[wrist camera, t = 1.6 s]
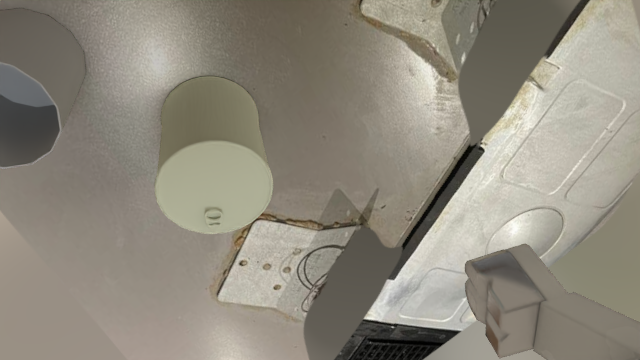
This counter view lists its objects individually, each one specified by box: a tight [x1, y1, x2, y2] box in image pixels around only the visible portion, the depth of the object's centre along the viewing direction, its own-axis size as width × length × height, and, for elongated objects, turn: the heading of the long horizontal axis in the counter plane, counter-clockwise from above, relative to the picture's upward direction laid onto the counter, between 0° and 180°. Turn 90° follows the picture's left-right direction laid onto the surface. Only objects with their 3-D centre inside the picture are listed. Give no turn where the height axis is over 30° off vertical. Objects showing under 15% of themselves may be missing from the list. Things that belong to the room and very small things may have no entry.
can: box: [155, 76, 273, 234], centre depth 42 cm, size 9×9×12 cm
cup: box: [0, 8, 86, 169], centre depth 36 cm, size 8×8×10 cm
